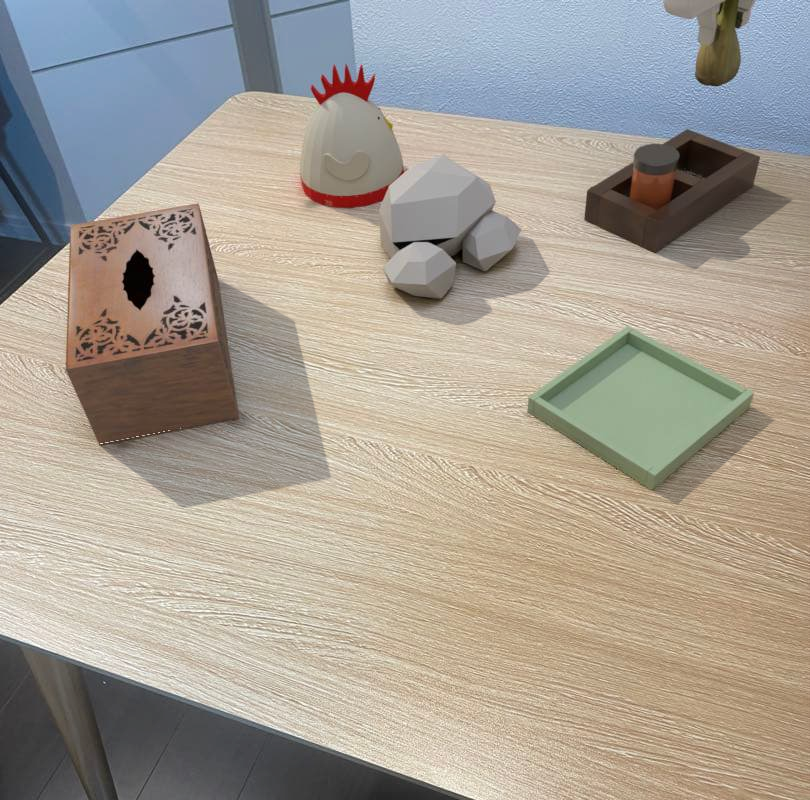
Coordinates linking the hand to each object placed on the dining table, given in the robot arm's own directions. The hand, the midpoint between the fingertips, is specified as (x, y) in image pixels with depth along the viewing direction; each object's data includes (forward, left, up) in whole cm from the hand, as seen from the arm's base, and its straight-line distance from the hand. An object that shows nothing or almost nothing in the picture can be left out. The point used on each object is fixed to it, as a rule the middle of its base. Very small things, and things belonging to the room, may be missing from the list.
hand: (722, 33), depth 103 cm
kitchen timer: (+35, +27, -19) cm, 49 cm away
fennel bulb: (0, 0, -5) cm, 5 cm away
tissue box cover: (+23, +66, -19) cm, 72 cm away
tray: (-21, +37, -19) cm, 47 cm away
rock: (+14, +32, -19) cm, 40 cm away
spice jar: (0, +9, -19) cm, 21 cm away
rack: (0, +4, -19) cm, 19 cm away
